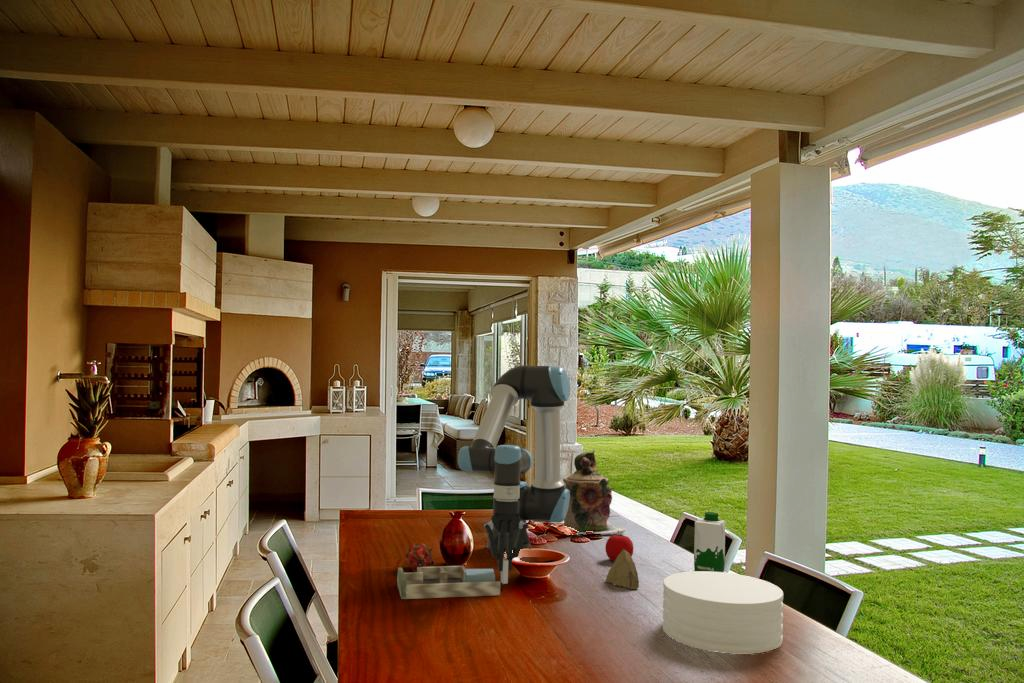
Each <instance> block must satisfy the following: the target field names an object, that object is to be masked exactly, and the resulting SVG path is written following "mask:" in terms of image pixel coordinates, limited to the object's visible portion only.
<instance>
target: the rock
mask: <svg viewBox="0 0 1024 683" xmlns="http://www.w3.org/2000/svg"><path fill="white" fill-rule="evenodd" d="M632 557H633V556H632ZM632 557H631V555H630V553H629V552H627V551H626V550H624V549H623V550H622V551H621V553H620V554H619V555H618V557H617V558H616V560H615V561H613V563H612V566H611V567H610V569H609V570H608V573H607V575H606V578H605V581H607V582H606V583H608V582H610V583H612V584H611V585H613V584H615V585H614V586H616V585H618V586H617V587H621V586H623V587H622V588H626V587H627V589H630V590H638V589H639V584H640V580H639V576H638V571H637V567H636V563H635V562H634V560H633V558H632ZM605 581H604V582H605ZM610 583H609V584H610ZM637 588H638V589H637Z"/></svg>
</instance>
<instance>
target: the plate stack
mask: <svg viewBox="0 0 1024 683" xmlns="http://www.w3.org/2000/svg"><path fill="white" fill-rule="evenodd" d="M662 586H663V592H662V596H663V597H662V598H663V600H662V608H663V611H662V631H663V630H664V631H663V633H664V632H665V633H666V634H667V635H668V636H670V637H671V638H673V639H675V640H677V641H679V642H681V643H683V644H682V645H684V644H686V645H689V646H692V647H691V648H693V647H695V648H694V649H696V648H699V649H698V650H700V649H703V650H702V651H705V650H710V651H718V652H726V653H760V652H765V651H769V650H773V649H776V648H778V647H779V646H780V647H782V645H783V643H782V642H783V641H784V640H783V639H784V638H783V633H784V625H783V621H784V613H783V611H784V602H783V601H784V591H783V590H782V589H781V588H780V587H779V586H778V585H776V584H774V583H772V582H770V581H768V580H764V579H760V578H758V577H754V576H748V575H744V574H738V573H734V572H733V573H732V572H725V571H724V572H712V571H694V570H693V571H684V572H683V571H682V572H678V573H673V574H669V575H668V576H666V577H665V578H664V580H663V585H662ZM665 633H664V634H665ZM666 634H665V635H666ZM667 635H666V636H667ZM668 636H667V637H668ZM670 637H669V638H670ZM671 638H670V639H671ZM673 639H672V640H673ZM675 640H674V641H675ZM677 641H676V642H677ZM679 642H678V643H679ZM681 643H680V644H681ZM781 644H782V645H781ZM686 645H685V646H686ZM689 646H688V647H689ZM780 647H779V648H780ZM779 648H778V649H779ZM776 650H777V649H776ZM710 651H709V652H710Z"/></svg>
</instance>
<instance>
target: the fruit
mask: <svg viewBox="0 0 1024 683" xmlns="http://www.w3.org/2000/svg"><path fill="white" fill-rule="evenodd" d="M618 534H619V531H618ZM618 534H612V535H611V536H609V537H608V539H607V540H606V543H605V554H606V556H607V557H608V558H609V560H610V561H613V562H615V560H616V558H617V557H618V555H619V554H620V553H621V551H622V550H623V549H624V550H626V551H627V552H629V553H630V555H631V557H633V555H634V544H633V540H631V538H630V537H628V536H627V535H618Z"/></svg>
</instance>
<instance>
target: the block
mask: <svg viewBox="0 0 1024 683" xmlns="http://www.w3.org/2000/svg"><path fill="white" fill-rule="evenodd" d="M491 581H496V574H495V571H494V568H466V569H465V582H491Z"/></svg>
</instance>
